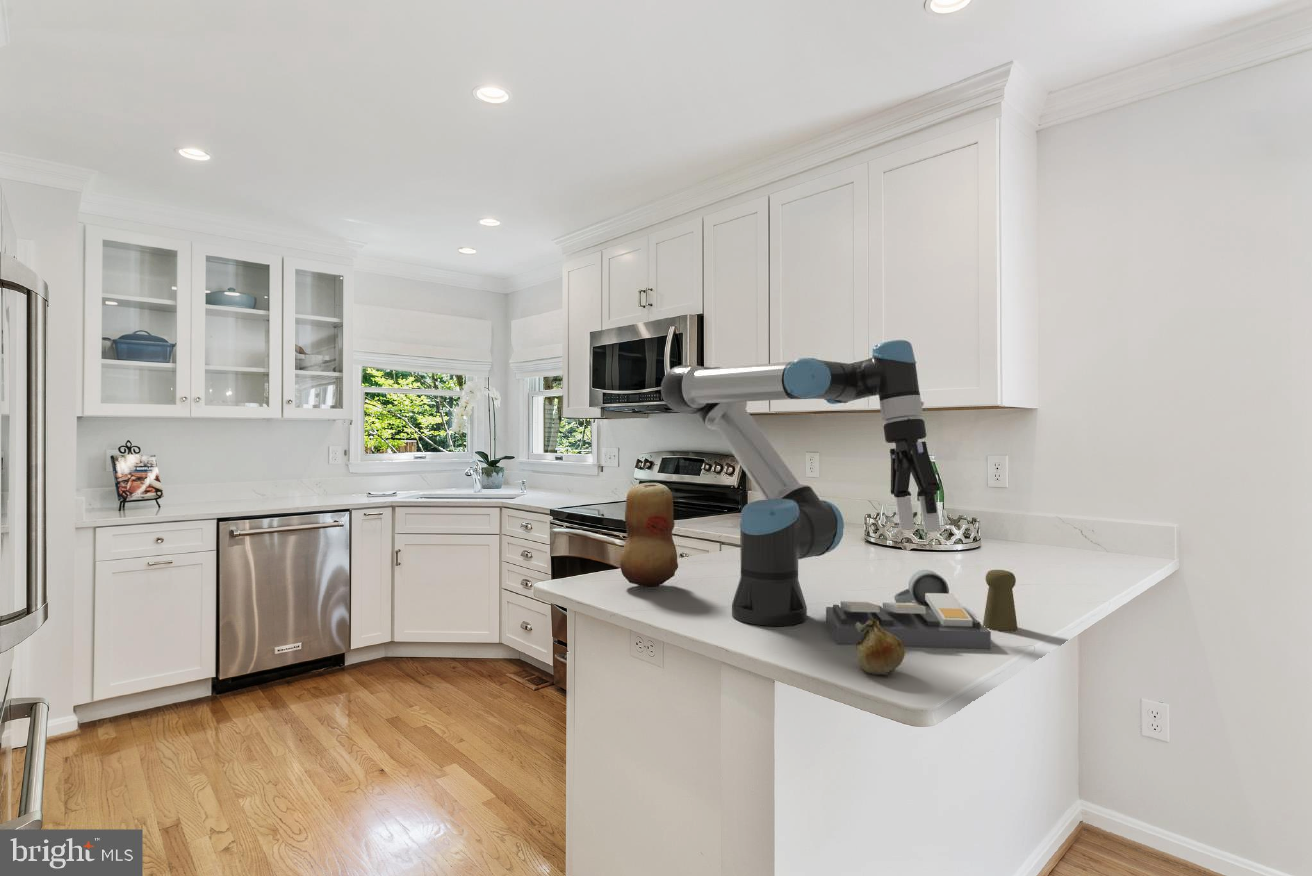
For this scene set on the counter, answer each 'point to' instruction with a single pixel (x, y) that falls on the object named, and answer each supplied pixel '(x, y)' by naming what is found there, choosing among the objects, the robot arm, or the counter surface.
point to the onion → (878, 649)
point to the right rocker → (948, 609)
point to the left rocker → (859, 606)
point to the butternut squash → (649, 536)
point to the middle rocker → (904, 608)
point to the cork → (1000, 601)
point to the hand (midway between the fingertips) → (919, 530)
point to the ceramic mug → (922, 588)
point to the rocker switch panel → (908, 628)
